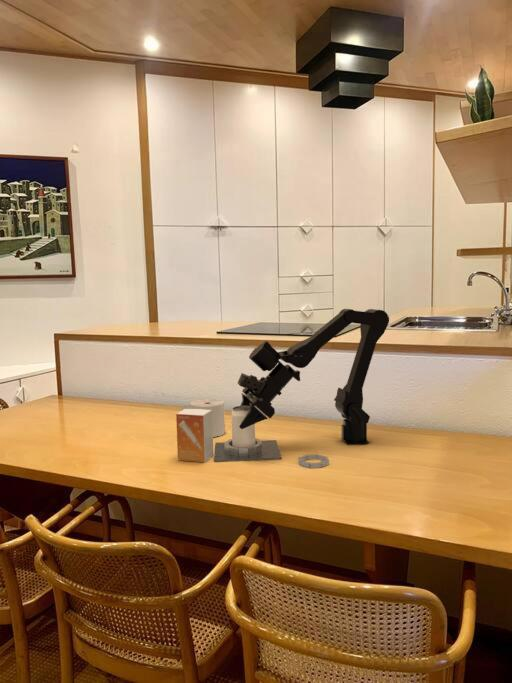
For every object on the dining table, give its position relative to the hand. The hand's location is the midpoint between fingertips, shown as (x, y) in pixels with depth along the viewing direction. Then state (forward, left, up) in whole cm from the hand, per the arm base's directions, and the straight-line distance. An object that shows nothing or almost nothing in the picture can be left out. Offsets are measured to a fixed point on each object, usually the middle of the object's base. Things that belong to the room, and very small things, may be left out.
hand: (237, 423), depth 147 cm
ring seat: (-1, 0, -8) cm, 8 cm away
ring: (-19, +12, -8) cm, 24 cm away
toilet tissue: (+10, -19, -8) cm, 23 cm away
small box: (+12, +4, -8) cm, 15 cm away
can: (-2, 0, -8) cm, 8 cm away
